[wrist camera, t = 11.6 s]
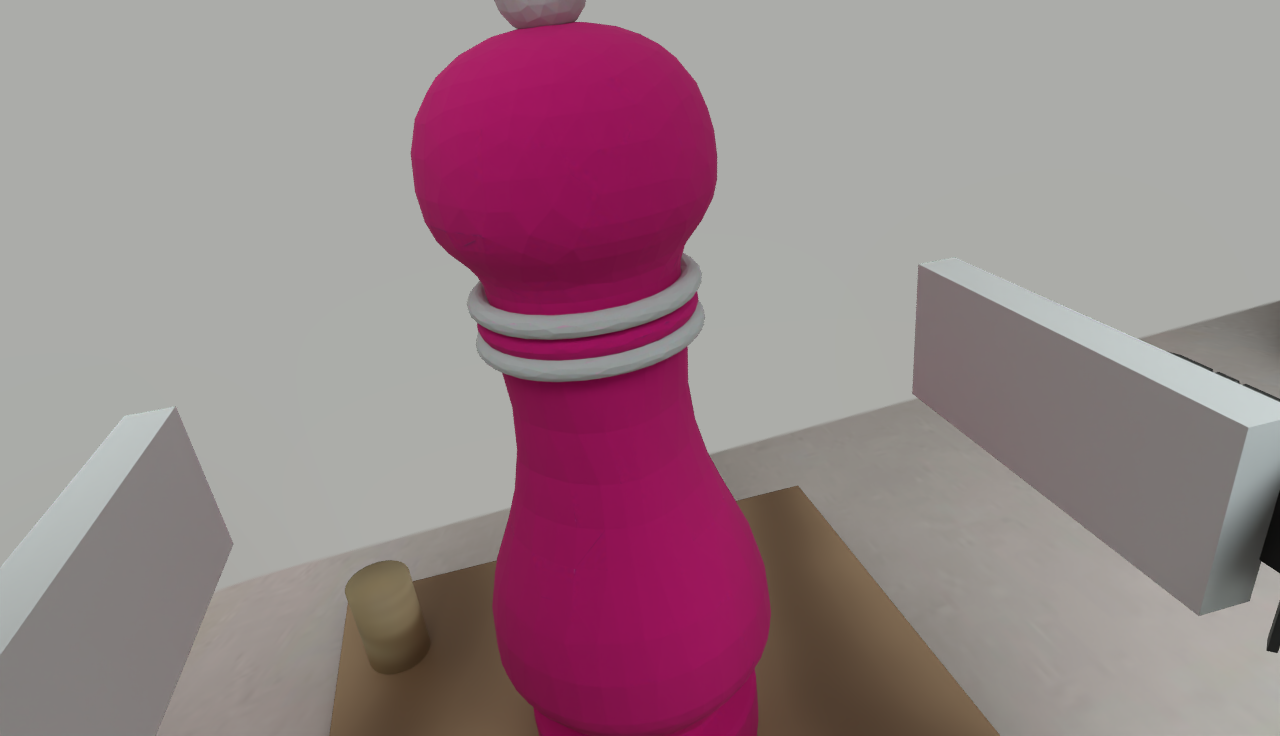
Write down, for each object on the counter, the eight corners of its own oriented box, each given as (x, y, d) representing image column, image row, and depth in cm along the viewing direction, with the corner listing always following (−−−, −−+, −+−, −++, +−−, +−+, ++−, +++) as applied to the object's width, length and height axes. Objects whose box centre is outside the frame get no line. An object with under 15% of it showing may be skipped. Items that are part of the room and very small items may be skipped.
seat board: (798, 505, 32) (796, 422, 30) (1165, 978, 16) (1204, 859, 14) (355, 617, 29) (325, 532, 27) (266, 1343, 13) (179, 1248, 11)
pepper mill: (472, 775, 21) (224, -42, 13) (608, 602, 27) (500, -46, 18) (711, 895, 18) (592, -124, 9) (810, 668, 23) (795, -99, 15)
